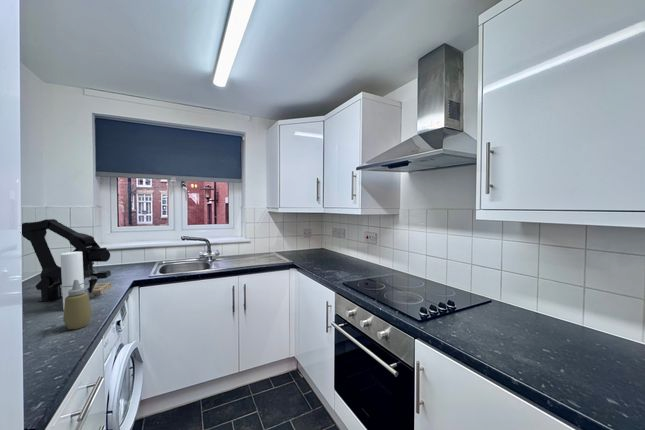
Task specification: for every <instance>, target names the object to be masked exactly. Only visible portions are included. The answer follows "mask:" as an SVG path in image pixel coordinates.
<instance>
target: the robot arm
mask: <svg viewBox="0 0 645 430" xmlns="http://www.w3.org/2000/svg"><path fill="white" fill-rule="evenodd" d="M21 224H22V234H21V236H22V237H23V238H24V239H26V240H28V241H29V242H30V244H31V246H32V249H33V250H34V253H35V255H36V257H37V260H38V263H39V265H40V267H41V273H40V274H39V275H40V279H41V280H40V281H39V282H38V283H37V284H36V285H35V289H36V290H37V291H40V294H41V295H40V296H41V299H40V300H38V303H41V302H42V303H43V302H45V303H49V302H55V301H57V300H59V299H63V295H62V287H61V286H62V275H61V266H59V265H57V263H56V261H55V258H54V256H53V254H52V252H51V249H50V246H49V244H48V242H47V240H46V235H47V230H49V231H52V232H53V233H54V234H56V235H58V236H61V237H62V238H64V239H66V240H68V242H69V244H70V245H71V246H72V247H74V248H75V249H74V250H72V251H71V252H82V255H83V275H84V280H85V279H87V278H90V279H89V280H88V283H89V284H88V285H89V291H90V293H92V290H93V288H94V286H95V284H97V283H98V280H101V279H102V280H103V279H107V278H108V277H110V276H111V275H112V272H111V270H100V271H98V272H95V269H94V264H95V263H97V262H100V263H103V262H104V263H106V262H108V261H109V260H110V258H111V252H110V251H109V250H108V249H107V247H101V246H100V245H99V244H98V243H97V241H96V240H95V238H94V236H91V235H89V234H86V233H82V232H78V231H76V230H74V229H72V228H70V227H68V226H67V225H64V224H62V222H59V221H58V220H57V219H54V218H50V219H49V218H48V219H43V220H39V221H29V222H22V223H21Z"/></svg>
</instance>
